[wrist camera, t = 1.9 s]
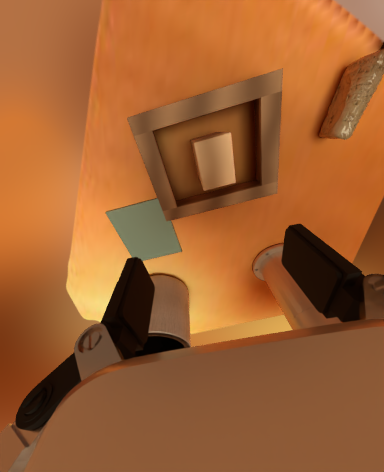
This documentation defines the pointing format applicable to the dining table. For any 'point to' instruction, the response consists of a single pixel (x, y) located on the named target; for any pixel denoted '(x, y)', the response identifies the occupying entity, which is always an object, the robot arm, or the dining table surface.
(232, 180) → the beech block
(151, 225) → the mat
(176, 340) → the planter
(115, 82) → the dining table surface
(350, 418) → the robot arm
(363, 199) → the dining table surface
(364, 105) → the cuneiform tablet
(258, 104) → the box
